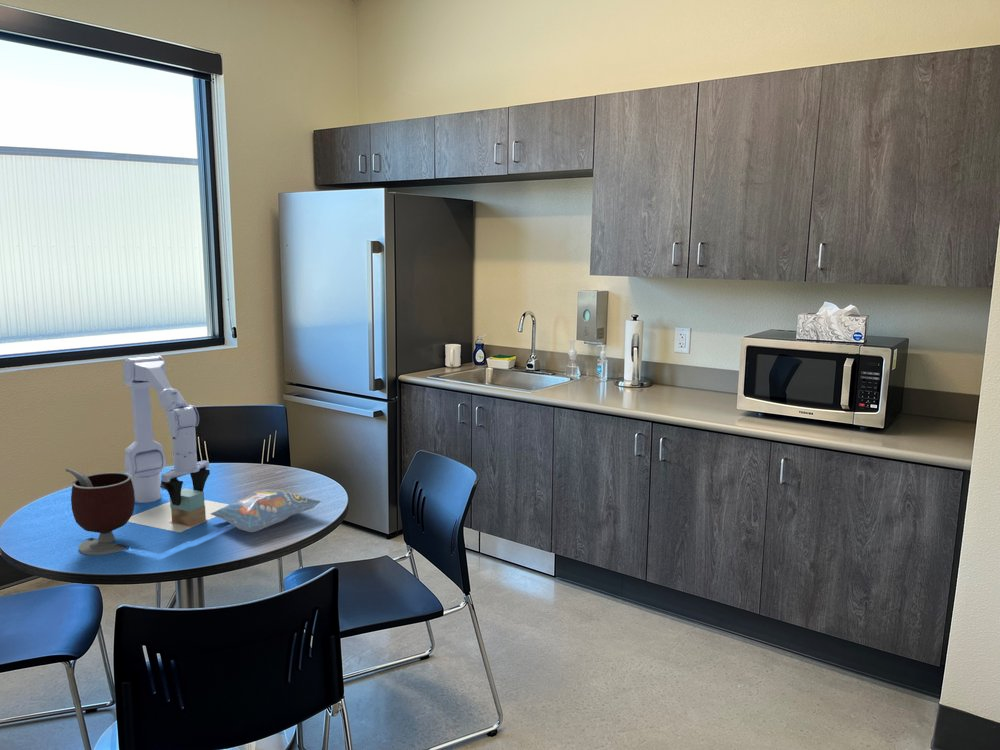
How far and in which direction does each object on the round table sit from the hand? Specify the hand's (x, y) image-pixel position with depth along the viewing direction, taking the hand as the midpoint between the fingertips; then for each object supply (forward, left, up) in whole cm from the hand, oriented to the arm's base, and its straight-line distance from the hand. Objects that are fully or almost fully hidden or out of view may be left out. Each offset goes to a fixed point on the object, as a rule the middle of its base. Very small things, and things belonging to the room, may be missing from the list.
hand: (187, 500), depth 196 cm
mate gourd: (-9, -19, -7) cm, 22 cm away
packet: (+17, +11, -7) cm, 21 cm away
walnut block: (0, 0, -6) cm, 6 cm away
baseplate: (-6, +4, -7) cm, 10 cm away
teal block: (0, 0, -2) cm, 2 cm away
